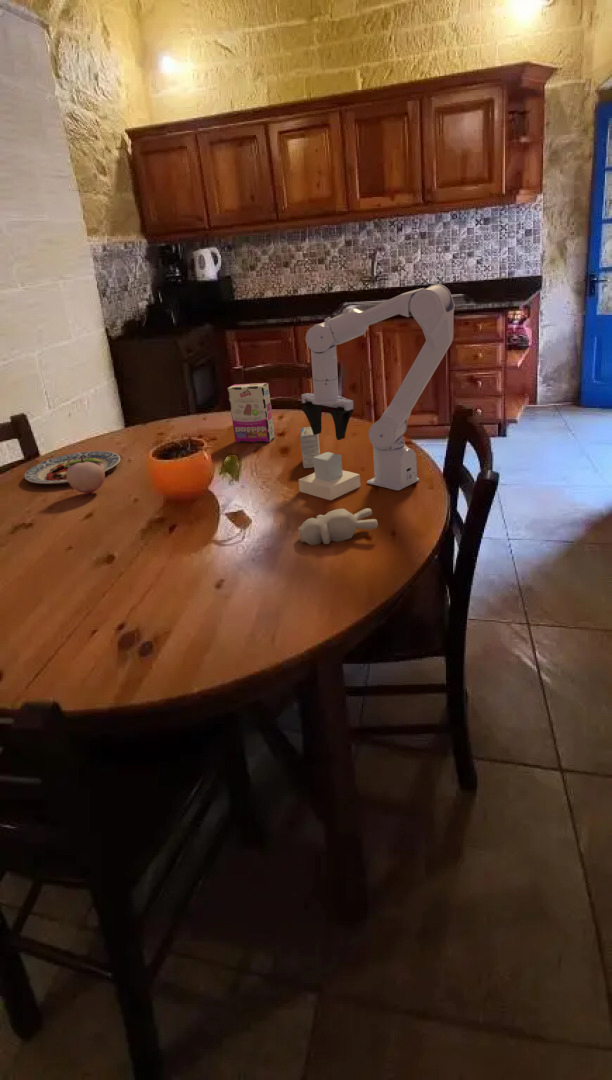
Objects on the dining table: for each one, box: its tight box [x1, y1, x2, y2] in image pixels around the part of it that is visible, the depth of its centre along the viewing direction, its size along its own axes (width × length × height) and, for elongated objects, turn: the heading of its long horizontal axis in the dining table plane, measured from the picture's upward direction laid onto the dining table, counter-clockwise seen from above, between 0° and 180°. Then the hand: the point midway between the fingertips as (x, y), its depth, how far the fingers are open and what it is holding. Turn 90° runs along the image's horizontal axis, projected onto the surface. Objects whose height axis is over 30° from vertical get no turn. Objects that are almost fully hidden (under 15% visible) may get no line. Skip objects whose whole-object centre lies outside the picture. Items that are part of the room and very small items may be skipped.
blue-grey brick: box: [313, 451, 343, 482], centre depth 151 cm, size 4×4×5 cm
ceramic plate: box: [24, 450, 121, 485], centre depth 183 cm, size 26×26×3 cm
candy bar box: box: [227, 382, 276, 444], centre depth 191 cm, size 11×5×16 cm, turn 73°
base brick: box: [298, 469, 361, 501], centre depth 152 cm, size 10×10×3 cm
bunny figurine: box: [298, 507, 379, 546], centre depth 128 cm, size 10×5×15 cm
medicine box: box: [300, 426, 321, 469], centre depth 169 cm, size 8×4×9 cm, turn 179°
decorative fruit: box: [64, 456, 106, 495], centre depth 164 cm, size 9×8×10 cm
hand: (328, 436), depth 155 cm, fingers open, 7 cm apart
